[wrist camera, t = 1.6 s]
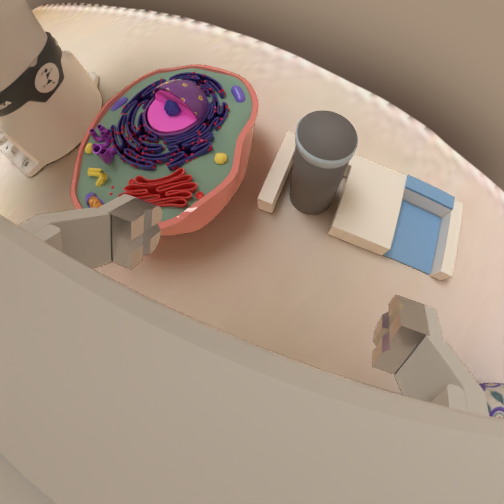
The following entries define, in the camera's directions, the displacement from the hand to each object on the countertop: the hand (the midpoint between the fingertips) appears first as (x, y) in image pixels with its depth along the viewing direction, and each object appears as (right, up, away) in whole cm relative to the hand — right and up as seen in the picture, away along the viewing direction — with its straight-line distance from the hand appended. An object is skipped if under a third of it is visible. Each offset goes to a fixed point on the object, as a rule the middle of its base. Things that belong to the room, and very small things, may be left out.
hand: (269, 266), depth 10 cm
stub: (+6, +6, +22) cm, 24 cm away
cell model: (-8, +9, +24) cm, 27 cm away
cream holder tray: (+11, +4, +21) cm, 24 cm away
